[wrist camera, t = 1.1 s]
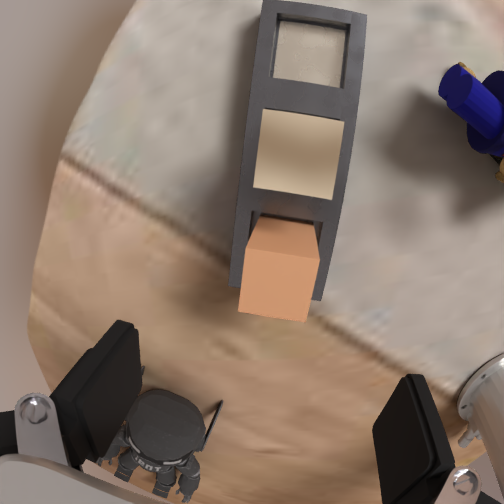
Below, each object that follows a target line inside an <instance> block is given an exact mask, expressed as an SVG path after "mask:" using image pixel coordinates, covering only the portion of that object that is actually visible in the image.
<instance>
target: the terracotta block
mask: <svg viewBox="0 0 504 504" xmlns="http://www.w3.org/2000/svg"><path fill="white" fill-rule="evenodd" d="M319 262H320V257H319V251H318V246H317V240H316V234H315V229H314V224H313V223H310V222H304V221H298V220H292V219H286V218H279V217H273V216H267V215H260V216H259V219H258V221H257V223H256V226H255V228H254V230H253V232H252V235H251V237H250V239H249V241H248V244H247V246H246V249H245V258H244V266H243V274H242V283H241V291H240V299H239V308H238V311H239V312H245V313H251V314H257V315H262V316H268V317H275V318H281V319H287V320H294V321H300V322H306V318H307V314H308V310H309V306H310V302H311V298H312V293H313V289H314V285H315V280H316V276H317V271H318V267H319Z"/></svg>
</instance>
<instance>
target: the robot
mask: <svg viewBox="0 0 504 504" xmlns="http://www.w3.org/2000/svg"><path fill="white" fill-rule="evenodd" d="M144 367H145V366H143V367H142V368H141V373H142V375H143V371H144ZM222 405H223V400H222V401H221V403H220V404H219V406H218V407H217V410H216V412H215V414H214V417H213V419H212V421H211V424H210V426H209V428H208V431H207V433H206V435H205V431H206V427H205V425H204V421H203V417H202V414H201V413H200V411H199V409H198V408H197V407H196V406H195V405H194V404H193V403H191V402H190V401H189V400H187V399H185V398H183V397H180V396H178V395H176V394H174V393H171V392H169V391H165V390H159V389H158V390H151V391H147V392H145V393H143V394H141V395H139V396H137V398H136V400H135V401H134V403H133V405H132V407H131V409H130V410H129V412H128V414H127V416H126V418H125V419H124V420H126V425H123V426H121V427H120V429H119V430H118V432H117V434H116V436H115V438H114V440H113V441H112V443H111V445H110V447H109V449H108V451H107V453H106V454H105V456H104V457H103V458H100V457H99V458H98V460H97V462H98V465H99V466H101V463H102V461H103V460H110V461H109V462H108V463H109V465H111V464H112V459H111V458H112V457H115V456H117V454H118V453H119V451H120V446H122V447H129V446H130V448H129V449H127V450H126V451H125V452H124V453H122V454H120V456H119V458H118V464H119V466H118V468H117V471H116V472H115V474H114V476H116V477H118V478H120V479H122V480H123V481H126V482H128V481H129V479H130V477H131V475H132V472H133V470H134V469H136V467H137V466H139V465H140V466H141V467H142V468H143V469H145V470H147V471H150V472H156V475H157V476H156V480H157V481H156V484H155V486H154V487H155V488H157V489H160V490H162V491H165V492H167V493H165V492H162V491H159V490H157V489H155V488H154V489H153V492H152V493H153V494H155V495H158V496H161V497H164V498H167V496H168V492H169V490H170V488H171V487H173V486H174V485H175V483H176V479H177V477H176V474H175V467H176V468H177V469H178V470H179V471H180V472H181V473H182V474H181V475H180V478H179V481H178V484H179V486H180V488H179V489H178V490H176V494H179V491H180V492H181V493H182V494H183V495H185V496H184V499H183V500H182V502H184V503H185V502H186V501H187V502H186V503H188V502H189V501H190V499H191V496H192V494H193V492H194V491H195V490H197V488H198V485H199V481H200V465H199V463H198V461H197V460H196V458H195V456H194V455H193V453H194V452H195V451H196V452H199V451H202V450H203V449H204V447H205V445H206V442H207V440H208V438H209V435H210V433H211V431H212V428H213V426H214V424H215V421H216V419H217V417H218V414H219V412H220V410H221V407H222ZM97 462H96V463H97ZM174 466H175V467H174ZM118 471H119V472H121V473H123V474H125V475H127V476H125V475H123V474H121V473H119V472H118ZM128 476H129V477H128Z"/></svg>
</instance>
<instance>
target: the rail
mask: <svg viewBox="0 0 504 504" xmlns="http://www.w3.org/2000/svg"><path fill="white" fill-rule="evenodd" d="M366 23H367V15H366V14H361V13H357V12H352V11H348V10H343V9H338V8H332V7H326V6H320V5H314V4H307V3H299V2H290V1H281V0H263V3H262V10H261V17H260V24H259V31H258V38H257V45H256V52H255V60H254V67H253V75H252V82H251V90H250V98H249V106H248V114H247V122H246V130H245V138H244V146H243V155H242V163H241V172H240V180H239V189H238V198H237V207H236V216H235V225H234V235H233V244H232V254H231V263H230V273H229V283H228V286H231V287H237V288H241V283H242V274H243V266H244V258H245V249H246V246H247V244H248V241H249V239H250V237H251V235H252V232H253V230H254V228H255V226H256V223H257V221H258V219H259V216H260V215H267V216H273V217H279V218H286V219H292V220H298V221H304V222H310V223H313V224H314V229H315V234H316V240H317V246H318V251H319V257H320V262H319V267H318V271H317V276H316V280H315V285H314V289H313V293H312V298H311V300H317V301H321V299H322V295H323V291H324V287H325V282H326V278H327V274H328V270H329V265H330V261H331V256H332V252H333V247H334V243H335V238H336V233H337V229H338V224H339V219H340V214H341V209H342V203H343V198H344V193H345V187H346V182H347V176H348V170H349V164H350V158H351V152H352V146H353V139H354V133H355V126H356V119H357V111H358V104H359V96H360V87H361V79H362V69H363V59H364V48H365V37H366ZM263 109H267V110H275V111H283V112H290V113H297V114H303V115H310V116H316V117H321V118H327V119H332V120H338V121H343V122H344V128H343V135H342V142H341V148H340V155H339V161H338V167H337V173H336V179H335V185H334V191H333V196H332V200H330V199H324V198H318V197H312V196H306V195H300V194H294V193H288V192H282V191H275V190H268V189H262V188H255V187H253V184H254V176H255V168H256V160H257V152H258V144H259V137H260V129H261V121H262V113H263Z"/></svg>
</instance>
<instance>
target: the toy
mask: <svg viewBox="0 0 504 504" xmlns="http://www.w3.org/2000/svg"><path fill="white" fill-rule="evenodd" d="M438 93H439V95H440V97H442V98H443V99H444V100H446V101H447V106H448V107H449V108H450V109H451V110H452V111H454V112H455V113H456V114H457V115H459V116H460V117H461V118H463V119H464V120H465V121H466V122H467V137H468V142H469V144H470V145H471V147H472V148H473V149H474V150H476V151H478V152H479V153H485V154H486V153H488V154H491V156H492V155H494V156H499V157H504V71H499V70H498V71H496V72H493V73H492V74H490V75H489V76H488V77H487V78H486V79H485V80H484V81H483V82H482V83H481V82H480V81H478V80H477V79H476V76H475V74H474V72H473V71H472V70H470V69H469V68H467V67H466V66H465V65H464V64H463V63H462V62H459V63H458V64H456V65H454V66H452V67H451V68H450V69H449V70H448V71H447V72H446V74H445V75H444V77H443V78H442V80H441V82H440V85H439V90H438ZM494 156H492V157H493V159H494V160H495V161H496V162H497V163H498V164H499V166H500V171H498V172H497V173H496V175H495V177H496V179H497V180H500V181H501V182H502V183H504V158H503V159H502V161H500V160H499V159H497V158H495V157H494Z"/></svg>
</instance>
